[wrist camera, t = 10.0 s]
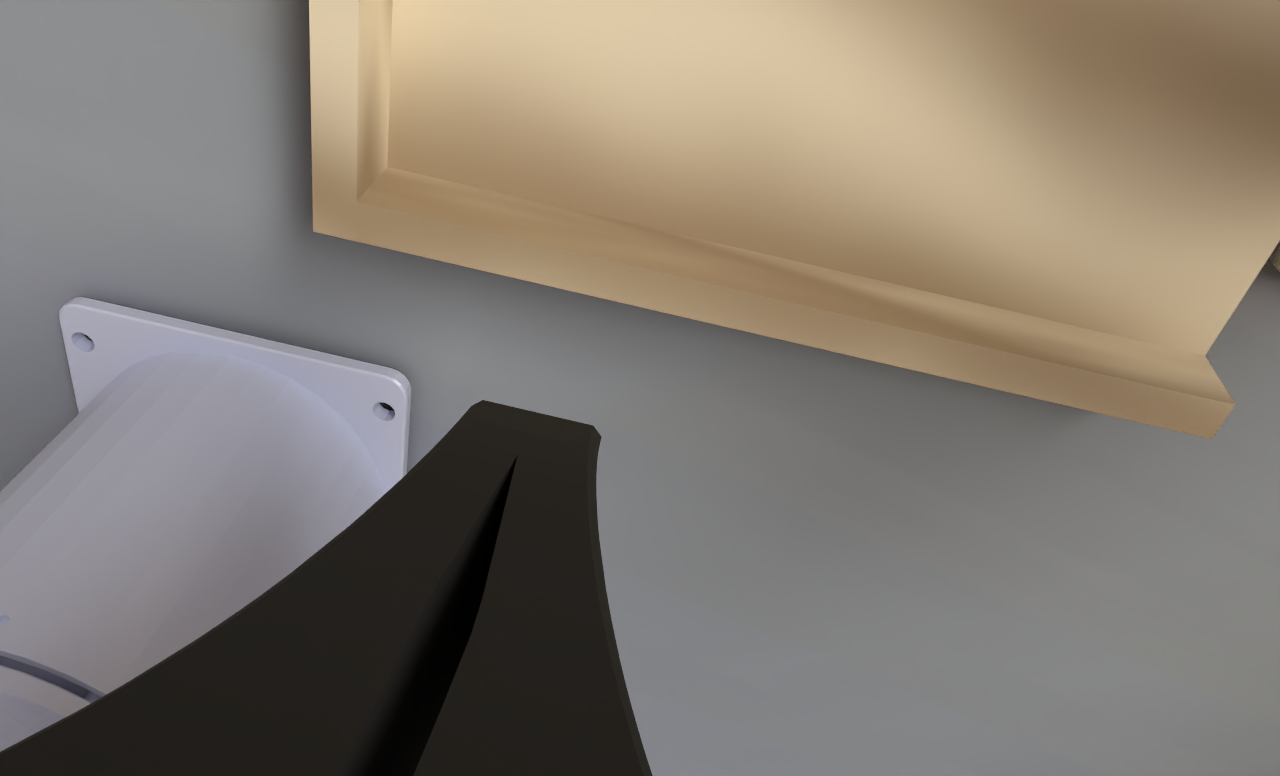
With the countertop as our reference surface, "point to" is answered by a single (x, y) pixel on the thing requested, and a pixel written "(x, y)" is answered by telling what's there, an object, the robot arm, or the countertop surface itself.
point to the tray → (836, 171)
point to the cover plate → (1276, 256)
